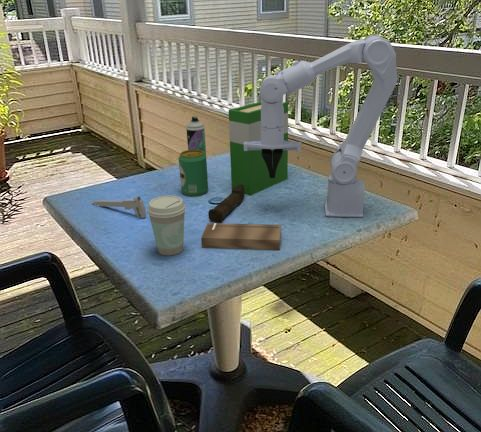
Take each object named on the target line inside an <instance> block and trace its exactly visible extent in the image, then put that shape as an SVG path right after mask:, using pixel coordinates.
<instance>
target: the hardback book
mask: <svg viewBox="0 0 481 432" xmlns="http://www.w3.org/2000/svg"><path fill="white" fill-rule="evenodd" d="M261 107H262V105H261V101H258V102H254V103H250V104H246V105H242V106H239V107H235V108H231V109H228V129H229V153H230V154H229V155H230V177H231V182H230V183H231V190H232V189H233V188H234V187H236V186H237V185H241V184H243V185H244V191H245V195H247V196H249V197H251V196H254V195H255V194H258V193H260V192H262V191H264V190H266V189H269V188H272V187H273V186H275V185H278V184H280V183H282V182H285V181H287V180H288V179H289V178H288V173H289V172H288V169H289V168H288V165H289V164H288V161H289V159H288V158H289V157H288V156H289V150H283V154H282V157H281V159H280V161H279V163H278V166H277V169H276V174H275V178H270V176H269V171H268V168H267V165H266V163H265V161H264V159H263V157H262V150H248V151H244V142H250V141H261ZM283 107H284V141H289V102H288V101H283ZM272 168H273V150H272Z"/></svg>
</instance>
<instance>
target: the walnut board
mask: <svg viewBox="0 0 481 432" xmlns="http://www.w3.org/2000/svg"><path fill="white" fill-rule="evenodd" d="M200 238H201V248H206V249H207V248H209V249H211V248H213V249H237V250H239V249H240V250H241V249H242V250H264V251H265V250H266V251H267V250H269V251H272V250H273V251H280V249H281V239H282V224H261V223H260V224H258V223H256V224H255V223H230V222H229V223H227V222H226V223H224V222H220V223H216V222H207V223H206V225H205V228H204V230H203V233H202V235H201V237H200Z"/></svg>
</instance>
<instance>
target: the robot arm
mask: <svg viewBox="0 0 481 432" xmlns="http://www.w3.org/2000/svg"><path fill="white" fill-rule="evenodd" d="M362 60H363V61H364V62H365V64H366V65H367V66H368V67H369V70H370V73H371V75H372V79H373V82H372V85H371V86H370V89H369V90H368V93H367V95H366V97H365V99H364V101H363V102H362V105H361V106H360V109H359V111H358V112H357V115H356V117H355V119H354V121H353V123H352V125H351V127H350V129H349V132H348V133H347V136H346V137H345V139H344V140H343V142H342V143H341V144H340V146H339V147H338V148H337V150H336V151H334V152H333V153H332V154H331V155H330V159H329V164H330V170H331V172H330V174H329V175H328V177H327V195H326V196H327V197H326V203H324V211H325V217H332V218H333V217H335V218H336V217H338V218H340V217H341V218H345V217H346V218H363V217H364V206H365V196H366V194H365V192H366V189H365V187H366V185H365V179H360V178H357V175H358V165H359V164H360V161H361V157H362V153H363V149H364V148H365V146H366V144H367V141H368V140H369V138H370V136H371V134H372V133H373V130H374V128H375V126H376V124H377V122H378V120H379V119H380V116H381V114H382V113H383V111H384V109H385V107H386V105H387V103H388V102H389V99H390V98H391V95H392V94H393V92H394V89H395V87H396V85H397V82H398V71H397V61H396V60H397V53H396V50H395V49H394V47H393V46H392V44H391V42H390V41H389V40H388V39H386V38H384V37H383V36H381V35H379V34H371V35H368V36H366V37H365V38H360V39H356V40H354V41H352V42H350V43H349V42H348V43H347V44H345V45H343V46H341V47H339V48H337V49H336V50H333V51H331V52H329V53H328V54H325V55H323V56H321V57H319V58H317V59H315V60H314V61H312V62H309V61H306V60H301V61H299V60H298V59H297V60H295V61H293V62H292V64H293V65H291V66H288V67H287V68H285V69H282V70H280V71H279V70H276V71H274V75H273V74H272V75H268V76H266V77H264V78H263V80H262V81H261V83H260V86H259V95H260V98H261V100H260V102H261V105H262V107H261V141H250V142H244V151H248V150H262V157H263V159H264V161H265V163H266V165H267V168H268V171H269V176H270V178H275V174H276V169H277V166H278V163H279V161H280V159H281V157H282V154H283V150H288V151H296V152H301V151H302V141H292V140H288V141H284V107H283V103H284V100H283V99H284V96H285V95H290V94H292V93H294V92H296V91H299V90H301V89H303V88H305V87H308V86H310V85H312V84H313V83H314V80H315V78H316V77H317V76H319V75H321V74H323V73H325V72H328V71H330V70H332V69H335V68H337V67H340V66H342V65H344V64H347V63H351V64H352V63H353V64H359V65H362ZM272 150H273V168H272Z"/></svg>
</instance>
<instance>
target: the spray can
mask: <svg viewBox="0 0 481 432" xmlns="http://www.w3.org/2000/svg"><path fill="white" fill-rule="evenodd" d="M205 134H206V131H205V124H204V123H202V121H200V120H199V118H198V116H195V115H192V116H191V120H190V122H189V123H187V124H186V140H187V150H201V151H203V152H204V154H205V156H206V157H207V151H206V150H207V147H206V135H205ZM206 163H207V164H208V162H207V160H206ZM207 179H209V178H208V177H207Z"/></svg>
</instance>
